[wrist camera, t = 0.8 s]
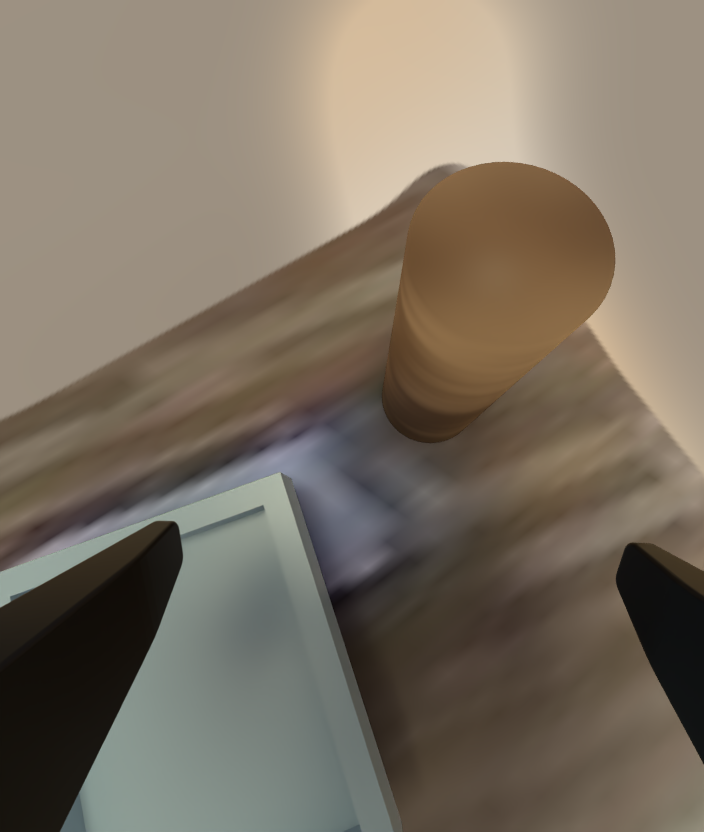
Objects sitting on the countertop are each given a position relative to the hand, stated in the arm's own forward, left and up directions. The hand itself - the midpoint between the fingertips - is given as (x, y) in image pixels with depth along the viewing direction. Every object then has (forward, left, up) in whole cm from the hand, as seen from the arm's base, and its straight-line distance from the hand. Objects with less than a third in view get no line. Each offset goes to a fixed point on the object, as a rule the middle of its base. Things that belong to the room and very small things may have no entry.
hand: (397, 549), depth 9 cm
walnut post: (+6, -5, -13) cm, 15 cm away
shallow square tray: (-3, +9, -13) cm, 16 cm away
